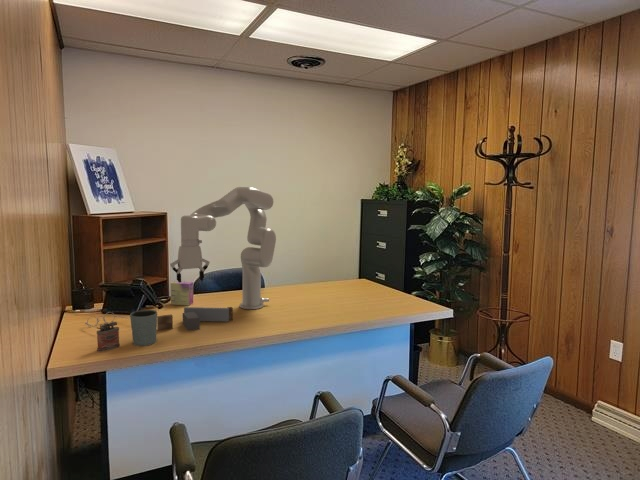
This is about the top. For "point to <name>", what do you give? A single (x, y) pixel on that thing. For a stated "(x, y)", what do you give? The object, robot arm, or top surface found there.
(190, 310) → the blue-grey long block
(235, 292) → the top surface
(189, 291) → the box
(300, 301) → the top surface
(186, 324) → the dark boxy piece
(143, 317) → the grey-green cup
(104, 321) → the eyeglasses
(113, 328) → the lighter
